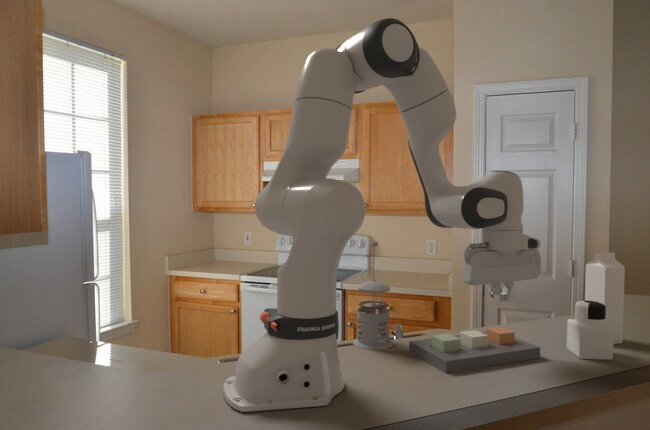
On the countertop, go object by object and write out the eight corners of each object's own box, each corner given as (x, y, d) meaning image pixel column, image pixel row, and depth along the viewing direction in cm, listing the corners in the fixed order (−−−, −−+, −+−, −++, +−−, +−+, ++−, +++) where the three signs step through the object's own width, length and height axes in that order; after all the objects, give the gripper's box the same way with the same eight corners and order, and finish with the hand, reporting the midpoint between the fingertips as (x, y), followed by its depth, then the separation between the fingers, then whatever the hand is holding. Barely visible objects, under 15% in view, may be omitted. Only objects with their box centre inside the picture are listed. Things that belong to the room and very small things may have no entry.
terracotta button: (499, 345, 107) (499, 334, 106) (485, 339, 111) (486, 328, 111) (514, 343, 108) (514, 332, 108) (500, 337, 112) (501, 326, 112)
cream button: (471, 349, 104) (472, 337, 104) (459, 343, 108) (459, 332, 108) (488, 346, 105) (488, 335, 105) (475, 341, 110) (475, 330, 109)
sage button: (443, 353, 101) (443, 341, 101) (431, 347, 105) (431, 335, 105) (460, 350, 103) (460, 339, 103) (448, 344, 107) (448, 333, 107)
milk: (622, 343, 115) (626, 254, 114) (602, 345, 114) (606, 254, 113) (601, 336, 121) (605, 250, 120) (582, 338, 119) (586, 251, 118)
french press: (348, 347, 112) (348, 242, 111) (360, 333, 123) (361, 237, 122) (389, 352, 108) (390, 243, 107) (398, 337, 119) (399, 239, 118)
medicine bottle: (597, 349, 111) (599, 299, 110) (613, 360, 104) (615, 306, 103) (566, 348, 111) (567, 298, 111) (579, 359, 104) (580, 305, 104)
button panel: (445, 373, 96) (445, 361, 96) (409, 351, 109) (409, 341, 109) (539, 357, 105) (540, 347, 105) (495, 339, 118) (496, 330, 118)
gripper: (474, 245, 102) (473, 308, 103) (546, 240, 109) (545, 299, 110) (456, 242, 108) (455, 302, 108) (525, 238, 115) (524, 294, 116)
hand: (501, 300), depth 109 cm, fingers closed
